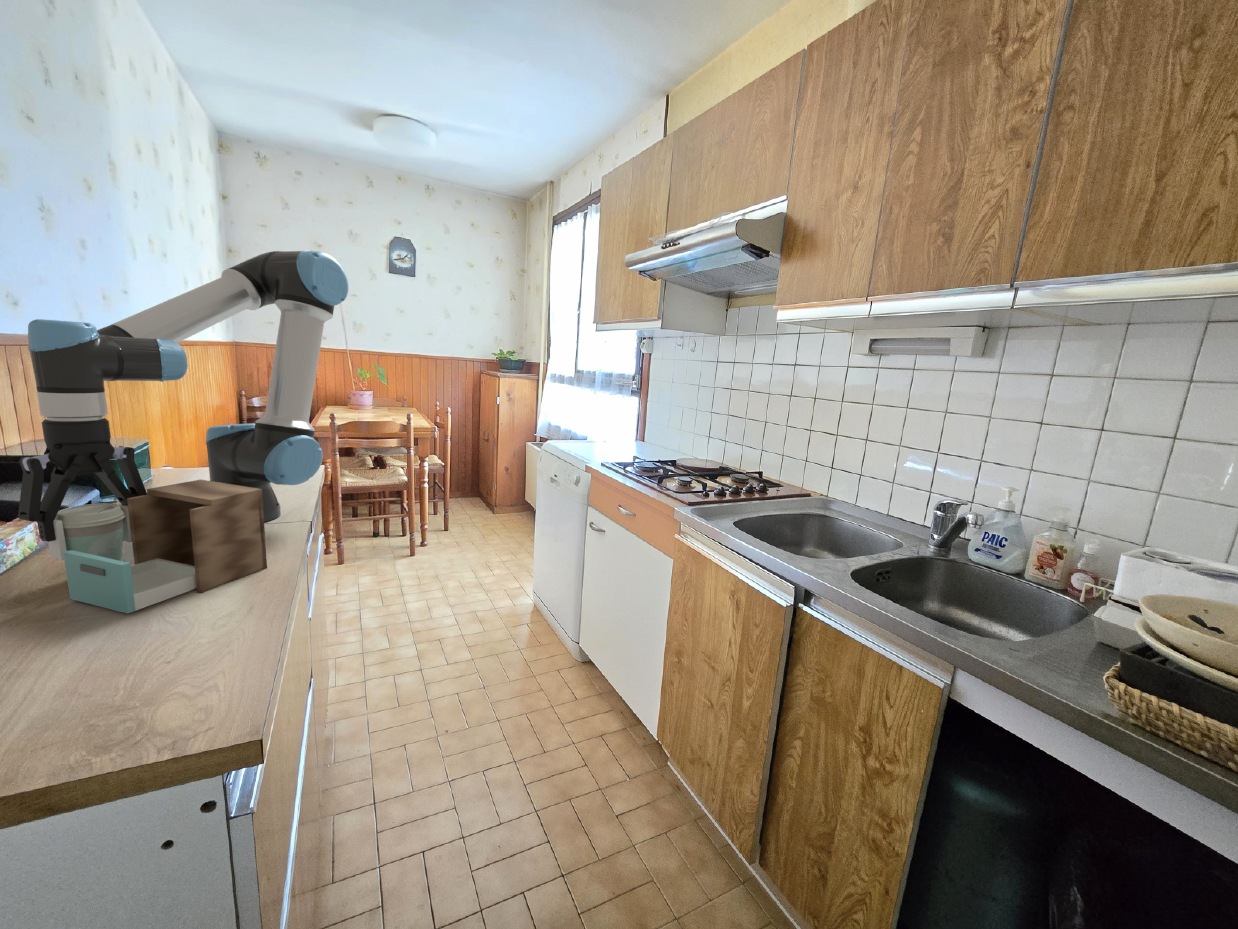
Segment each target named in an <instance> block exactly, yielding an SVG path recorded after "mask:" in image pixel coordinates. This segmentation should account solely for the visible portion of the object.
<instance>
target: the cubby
mask: <svg viewBox="0 0 1238 929" xmlns="http://www.w3.org/2000/svg"><path fill="white" fill-rule="evenodd" d="M146 492H147V495H143V496H137V497H132V498H127V503H128V511H129V520H130V529H131V537H132V542H131V544H132V552H133V561H134V565H135V564H139V563H142V562H146V561H149V560H152V559H156V558H159V559H164V560H168V561H173V562H178V563H182V564H187V565H192V566H195V575H196V585H197V588H196V589H193V590H190V591H189V592H195V593H197V594H202V593H205V592H208V591H210V590H213V589H215V588H218V587H221V586H223V585H226V584H228V583H231V582H234V581H237V580H239V579H242V578H245V577H246V576H250V575H252V574H256V573H258V572H260V571H262V570H266V569H268V562H267V561H268V560H267V545H266V532H265V529H266V528H265V522H264V513H263V497H262V489H258V488H252V487H246V486H239V485H233V484H226V483H220V482H214V481H210V480H207V479H206V480H205V479H196V480H191V481H183V482H179V483H175V484H174V483H173V484H169V485H162V486H156V487H150V488H146Z"/></svg>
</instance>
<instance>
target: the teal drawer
mask: <svg viewBox="0 0 1238 929" xmlns="http://www.w3.org/2000/svg"><path fill="white" fill-rule="evenodd" d="M63 553H64V560H63V561H64V566H65V567H64V568H65V573H66V579H67V586H68V587H67V588H68V592H69V593H68V595H69V599H70V600H73V601H77V602H81V603H85V604H90V605H91V606H92V605H93V606H97V607H101V608H106V609H108V610H111V611H116V612H121V613H123V614H130V613H133V612H135V611H139V610H141V609H144V608H146V607H149V606H152V605H154V604H158V603H160V602H163V601H165V600H168V599H172V598H173V597H176V596H178V595H181V594H185V593H187V592H191V591H190V590H193V589H196V588H197V585H196V575H195V566H192V565H187V564H182V563H178V562H173V561H168V560H164V559H159V558H156V559H152V560H149V561H146V562H142V563H139V564H135V563H134V564H132V565H131V562H128V561H123V560H122V561H119V560H114V559H110V558H105V557H101V556H96V555H92V554H87V553H83V552H78V551H74V550H70V551H66V552H63Z"/></svg>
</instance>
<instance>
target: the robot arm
mask: <svg viewBox="0 0 1238 929" xmlns="http://www.w3.org/2000/svg"><path fill="white" fill-rule="evenodd" d="M347 277H348V276H347V274H346V272H345V270H343V269H342V265H341V264H340V263H339V261H338V260H336V259H335V258H334V257H333V256H332V255H329V253H326V252H323V251H318V250H317V251H315V250H312V249H311V250H310V249H305V250H297V251H296V250H293V251H292V250H291V251H281V250H280V251H279V250H277V251H276V250H273V251H268V252H265V253H261V254H258V255H256V256H253V257H252V258H249V259H246V260H244V261H243V262H240V263H238V264H236V265H234V266H233V265H232V266H231V267H228V268H226V269H224V270H223V271H222V272H221V276H220V277H219V278H216V279H215V280H212V281H210V282H207V283H205V284H203V285H202V284H201V286H197V287H195V288H194V289H191V290H189V291H186V292H184V293H182V294H179V295H177V296H174V297H172V298H170V299H168V300H166V301H163V302H161V303H158V304H155V305H153V306H152V307H149V308H147V309H144V310H141V311H139V312H136V313H135V314H133V315H130V316H128V317H125V318H123V319H121V320H119V321H116V322H114V323H111V324H110V325H108V326H104V327H103V328H99V329H97V327H96V325H94V324H93V323H91V322H83V321H82V322H81V321H72V320H71V321H70V320H69V321H67V320H56V319H43V318H42V319H39V318H37V319H33V320H32V321H30V322H29V323H28V325H27V340H28V347H27V349H28V352H29V354H30V358H31V359H30V360H31V363H32V368H33V369H32V370H33V374H34V380H35V384H36V385H35V386H36V395H37V400H38V401H37V402H38V406H39V413H40V416H41V417H44V418H46V419H43V420H42V421H41V429H42V434H43V441H44V443H45V448H46V449H45V450H44V452H43V454H41V455H36V456H31V457H29V456H22V457H20V458H19V460H18V463H19V464H20V467H21V470H22V478H21V479H22V480H21V487H20V495H19V496H20V497H19V504H18V505H19V506H18V514H17V517H18V519H19V520H22V521H27V522H36V523H37V528H38V529H37V530H38V534H39V539H40V540H41V541H42V542H47V544H48V545H47V546H48V550H49V556H50V558H51V559H54V560H59V561H65V560H64V553H63V552H66V551H67V550H66V543H65V537H64V531H63V524H62V521H61V520H56V519H55V517H56V515H57V513H58V511H60V508H61V506H62V503H64V502H63V501H64V499H65V497H66V494H67V492H68V489H69V488H70V486H71V484H72V483H73V482H74V481H75V479H76V477H79V476H83V475H86V474H88V473H89V474H94V475H96V476H98V478H99V479H100V481H101V482H103V484H104V485H105V487H107V489H108V490H109V491H110V492H111V494H112V495H113V496H114V498H115V499H117V501H118V502H119V503H120V504H118V505H119V506H120V508H121V510H122V511H123V512H124V515H125V518H123V542H127V543H132V537H131V529H130V520H129V511H128V503H127V498H132V497H137V496H143V495H147V489H146V487H145V484H144V482H143V480H142V477H141V474H140V471H139V469H138V466H137V464H136V462H135V455H136V454H135V448H134V447H131V446H125V445H119V446H118V447H117V446H116V447H114V446H113V444H112V443H111V438H112V435H111V429H110V428H111V427H110V421H109V420H108V419H107V418H106V416H107V415H109V411H108V406H107V405H108V404H107V398H106V392H105V391H106V390H105V382H114V381H115V382H116V381H120V382H121V381H123V382H125V381H126V382H128V381H129V382H134V381H135V382H160V383H163V382H165V381H178V380H181V379H182V378H184V376H185V375H186V374H187V371H188V367H189V366H188V365H189V364H188V356H187V353H186V352H185V349H184V348H183V346H181V344H179V343H180V342H182V341H184V340H186V339H188V338H190V337H192V336H194V335H196V334H198V333H201V332H202V331H205V330H207V329H209V328H210V327H212V326H214V325H216V324H218V323H220V322H223V321H225V320H227V319H229V318H231V317H233V316H235V315H236V314H240V313H241V312H243V311H245V310H249V311H256V310H258V309H260V308H262V307H265V306H268V305H275V306H276V307H277V308H278V310H279V311H280V319H279V324H278V328H277V338H276V342H275V343H276V344H275V348H274V350H275V351H274V355H273V362H272V369H271V374H270V381H269V386H268V387H269V388H268V393H267V400H266V406H265V412H264V415H263V416H262V417H260V418H258V419H257V420H256V421H255V423H254V422H253V423H237V424H225V425H224V424H223V425H213V426H210V427H208V428H207V429H206V435H205V436H206V437H205V439H206V440H205V445H206V450H207V460H208V472H209V473H208V474H209V481H214V482H220V483H226V484H233V485H239V486H246V487H252V488H258V489H262V497H263V513H264V523H266V522H270V521H273V520H275V519H277V518H279V517H281V514H282V513H281V505H280V502H279V501H278V498H277V496H276V493H275V492H274V489H273V487H272V485H271V484H274V485H283V486H298V485H301V484H304V483H306V482H308V481H309V479H310V478H313V477H314V476H315V475H316V473H317V472H319V469H320V467H321V465H322V462H323V458H324V456H323V450H322V447H320V443H319V442H318V441H317V440H316V439H315V432H316V429H315V428H314V427H313V425H312V424H311V423H310V416H311V409H312V405H313V398H314V392H315V383H316V377H317V372H318V365H319V360H320V359H319V358H320V354H321V353H320V352H321V345H322V338H323V332H324V327H325V326H324V325H325V323H326V322H327V321H329V320H330V319H333V316H334V311H335V306H338V305H339V304H341V303H342V302H344V301H345V300H346V299H347V297H348V294H349V279H348V278H347ZM112 457H114V459H116V462H117V465H118V467H119V470H120V473H121V475H122V477H123V481H124V483H125V484H124V483H123V482H122V480H121V479H120V477H119V476H118V475H117V474H116V473H115V472H116V471H115V469H114V468H113V467H112V466H111V464H110V463H109V461H110V460H111V458H112ZM47 463H49V464H51V465H52V466H53V469H52V472H51V473H50V482H49V483H48V485H47V488H46V490H45V492H44V493H43V489H44V488H43V486H44V480H45V472H44V470H45V469H46V468H47ZM43 494H44V495H43ZM42 496H43V497H42Z"/></svg>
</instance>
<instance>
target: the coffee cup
mask: <svg viewBox="0 0 1238 929" xmlns="http://www.w3.org/2000/svg"><path fill="white" fill-rule="evenodd" d="M119 505H120V504H116V503H110V502H109V503H108V502H105V503H89V504H88V503H87V504H82V505H75V506H70V507H66V508H63V509H59V511H58V513H57V515H56V517H55V519H56V520H61V521H62V524H63V531H64V537H65V543H66V550H67V551H70V550H74V551H78V552H83V553H87V554H92V555H96V556H101V557H105V558H110V559H114V560H119V561H123V547H124V546H123V542H124V541H123V518H125V515H124V512H123V511H122V510H121V508H120V506H119Z"/></svg>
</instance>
